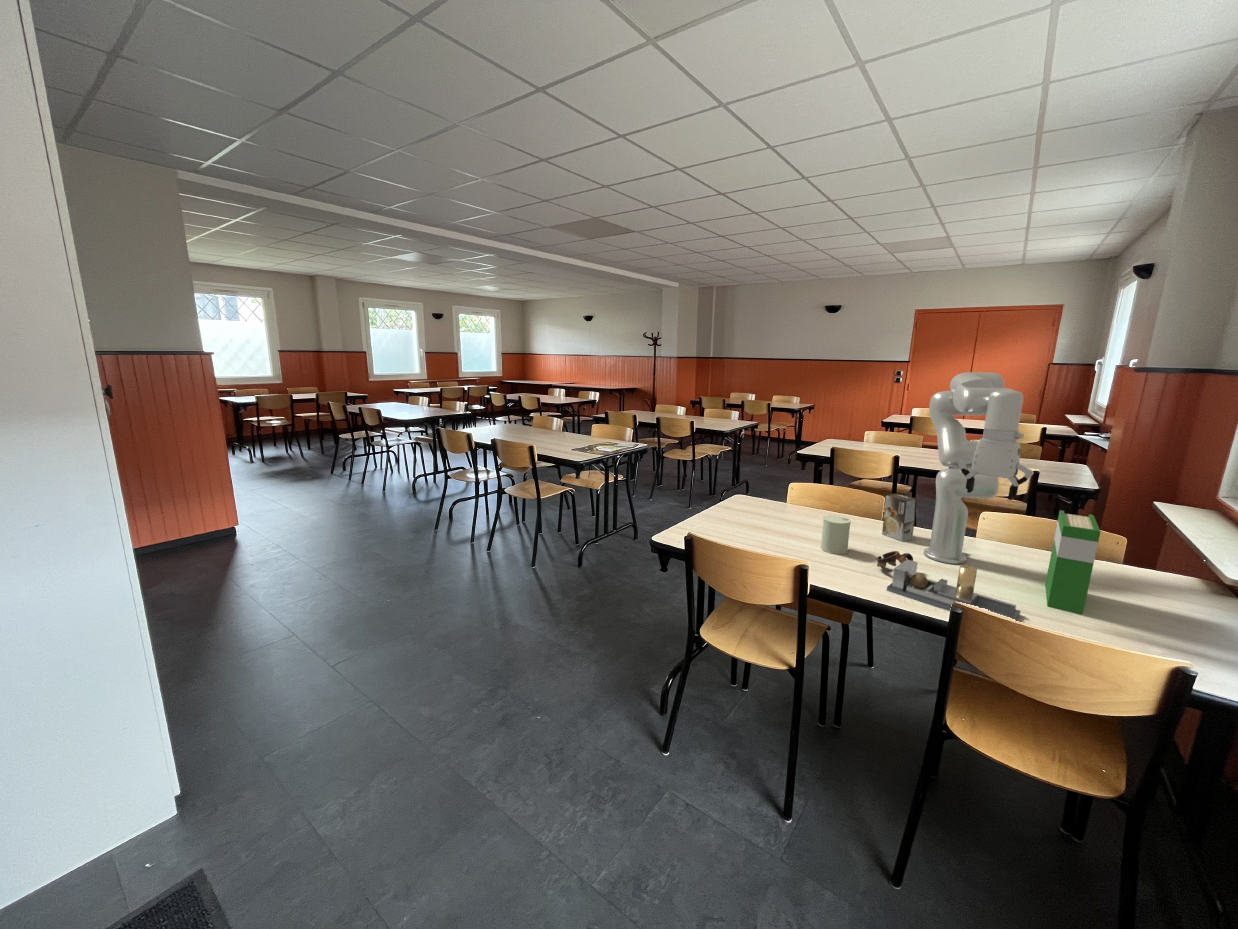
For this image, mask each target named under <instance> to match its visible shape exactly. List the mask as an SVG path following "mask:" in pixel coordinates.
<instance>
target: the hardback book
mask: <svg viewBox="0 0 1238 929" xmlns="http://www.w3.org/2000/svg"><path fill="white" fill-rule="evenodd" d="M1101 532H1102V531H1101V530H1100V527H1099V524H1098V523H1097V520H1096V518H1095V515H1093V514H1088V516H1084V515H1079V514H1078V515H1077V514H1071V513H1065V511H1064V510H1063V509H1062V510H1061V509H1060V510H1059V511H1058V517H1057V523H1056V528H1055V533H1054V537H1053V543H1052V548H1051V553H1050V558H1049V562H1048V563H1049V564H1048V567H1047V573H1046V577H1045V578H1046V579H1045V583H1044V588H1045V596H1046V606H1047V607H1048V608H1052V609H1057V610H1061V611H1065V612H1069V613H1073V614H1077V615H1084V610H1085V605H1086V599H1087V596H1088V591H1089V587H1090V582H1091V578H1092V572H1093V568H1094V563H1095V559H1096V554H1097V549H1098V545H1099V542H1100V540H1099V539H1100V536H1101Z"/></svg>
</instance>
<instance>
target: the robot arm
mask: <svg viewBox="0 0 1238 929" xmlns="http://www.w3.org/2000/svg"><path fill="white" fill-rule="evenodd" d="M949 388H950V390H945V391H944V390H943V391H939V392H936V393H934V394H933V395H932V396H931V397H930V400H929V415H930V420H931V422H932V424H933V426H934V429H935V431H936V439H937V450H938V452H937V453H938V459H939V463H940V464H941V465H942V466H944V467H946V468H945V469H941V470H940V471H939V472H937V474H936V477H935V492H936V493H935V494H936V495H935V507H934V514H933V520H932V521H933V522H932V529H931V536H930V541H929V542H930V544H929V546H928V547H925V549H924V550H923V555H925V556H926V557H927V558H928V559H931V560H934V561H935V562H940V563H946V564H955V565H957V564H958V565H959V564H964V563H966V562H967V556H966V555H965V554H964V553H963V547H964V542H965V536H966V530H967V529H966V528H967V523H968V516H969V510H968V509H969V508H968V507H967V505H966V504H965V503H964V502H963V501H962V498H970V499H982V500H983V499H986V500H988V499H992V498H994V497H995V496H997V494H998V492H999V486H1000V484H999V483H1000V482H999V478H1004V479H1007V480H1009V482H1010V483H1011V484H1010V486H1009V491H1008V498H1007V500H1008V501H1012V500H1014V498H1017V495H1018V490H1019V486H1020V485H1021V484H1024V483H1025V482H1027V481H1028V480H1029V479H1030V478H1031V477H1032V476H1034V471H1033V470H1032V469H1030V468H1028V467H1026V466H1024V465H1023V464H1022V463H1020V460H1021V459H1020V458H1021V443H1020V441H1017V440H1020V439H1024V437H1025V433H1021V432H1020V431H1019V425H1020V420H1021V414H1022V408H1023V404H1024V394H1023V393H1022V392H1021V391H1018V390H1015V389H1012V388H1008V387H1007V388H1006V387H1005V380H1004V377H1003V376H1002V375H1001V374H999V373H997V372H977V371H976V372H975V371H974V372H973V371H971V372H968V371H967V372H966V371H965V372H961V373H958V374H956V375H955V376H954V377H952V379H951V381H950V383H949ZM983 415H985V419H984V428H983V432H982V433H983V434H982V438H979V440H978V441H975V440H972V441H971V440H968V439H967V433H966V429H965V427H964V425H963V424H962V423H961V422H960V421H959V420H958V419H957V418H955V417H954V416H973V417H974V416H975V417H978V416H980V417H981V416H983ZM1019 471H1020V472H1022V473H1024V475H1023V476H1022V477H1021V478H1018V477H1017V475H1018V473H1019Z"/></svg>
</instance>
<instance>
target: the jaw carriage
mask: <svg viewBox="0 0 1238 929" xmlns="http://www.w3.org/2000/svg"><path fill="white" fill-rule="evenodd" d="M958 568H959V569H958V575H957V582H956V587H955V586H952V585H949V584H948V580H947V579H943V578H941V579H939V580H938V581H936V582H937V583H936V584H935V585H934V591H933V593H935V594H938V595H941V596H944V597H948V598H951V599H954V600H957V601H960V602H964V603H967V604H970V605H974V603H975V602H976V601H977V599H978V594H979V593H977V592H974V590H975V585H976V577H977V572H978V569H977V568H976V567H975V566H970V565H967V564H966V565H963V564H961V565H960V566H959V567H958Z"/></svg>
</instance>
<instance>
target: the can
mask: <svg viewBox="0 0 1238 929" xmlns="http://www.w3.org/2000/svg"><path fill="white" fill-rule="evenodd" d="M851 522H852V521H851V519H850V518H849V517H845V516H841V515H836V514H835V515H833V514H831V515H830V514H829V515H824V516H823V520H822V532H821V543H820V550H822V551H823V552H825V553H829V554H835V555H845V554H847V553H848V552H849V548H848V547H849V541H850V540H849V538H850V529H851Z"/></svg>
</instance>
